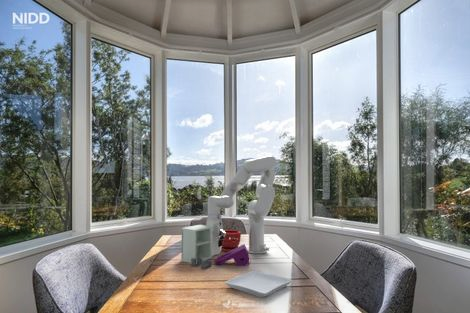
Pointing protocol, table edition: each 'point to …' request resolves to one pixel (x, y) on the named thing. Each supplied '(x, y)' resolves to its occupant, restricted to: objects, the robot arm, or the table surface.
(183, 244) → the cabinet
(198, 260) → the hinge clips
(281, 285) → the salad plate
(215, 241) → the door
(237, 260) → the mounting bracket
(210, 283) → the table surface
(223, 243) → the plant pot
